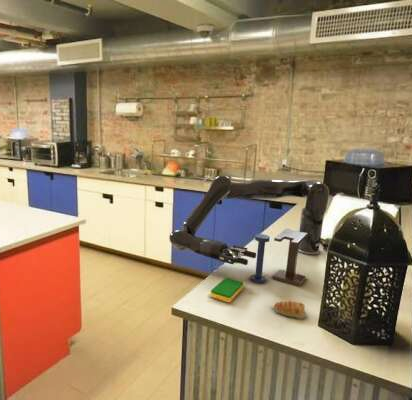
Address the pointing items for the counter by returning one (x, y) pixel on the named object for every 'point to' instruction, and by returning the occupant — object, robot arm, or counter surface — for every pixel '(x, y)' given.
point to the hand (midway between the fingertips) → (251, 258)
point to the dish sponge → (227, 289)
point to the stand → (291, 257)
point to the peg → (260, 258)
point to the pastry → (290, 309)
